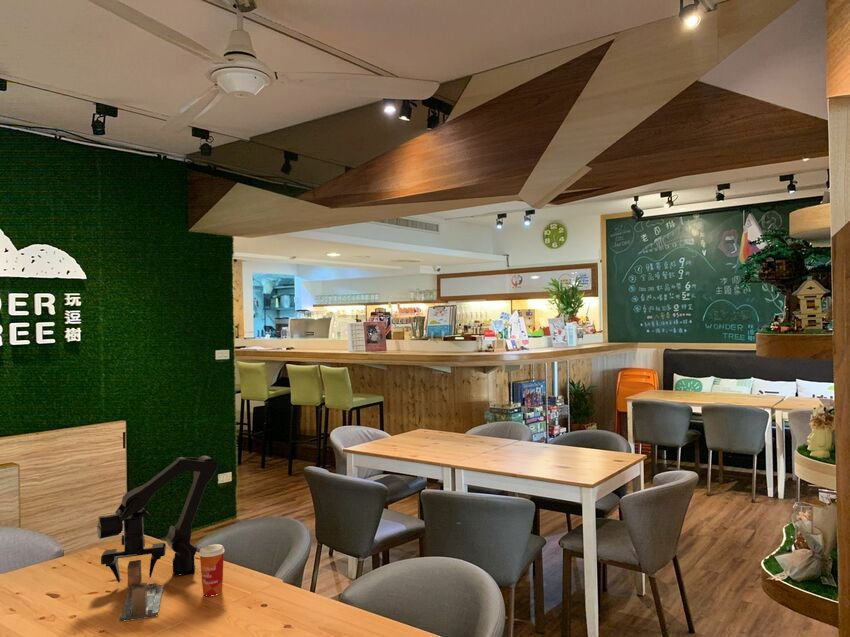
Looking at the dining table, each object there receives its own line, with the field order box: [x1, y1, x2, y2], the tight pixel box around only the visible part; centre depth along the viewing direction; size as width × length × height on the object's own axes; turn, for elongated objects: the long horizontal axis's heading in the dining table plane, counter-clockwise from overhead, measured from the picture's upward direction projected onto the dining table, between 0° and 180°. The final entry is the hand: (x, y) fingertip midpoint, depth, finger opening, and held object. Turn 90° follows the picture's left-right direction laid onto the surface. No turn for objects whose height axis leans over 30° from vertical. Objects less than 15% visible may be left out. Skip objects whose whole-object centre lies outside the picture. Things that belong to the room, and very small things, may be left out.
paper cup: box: [198, 543, 226, 596], centre depth 192 cm, size 8×8×14 cm
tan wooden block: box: [127, 559, 142, 589], centre depth 199 cm, size 4×6×7 cm, turn 19°
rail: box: [119, 582, 164, 622], centre depth 185 cm, size 10×20×8 cm, turn 19°
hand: (134, 579), depth 200 cm, fingers open, 9 cm apart
